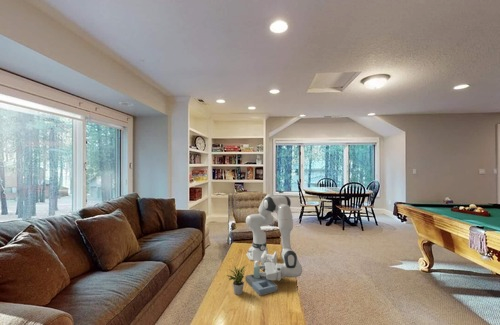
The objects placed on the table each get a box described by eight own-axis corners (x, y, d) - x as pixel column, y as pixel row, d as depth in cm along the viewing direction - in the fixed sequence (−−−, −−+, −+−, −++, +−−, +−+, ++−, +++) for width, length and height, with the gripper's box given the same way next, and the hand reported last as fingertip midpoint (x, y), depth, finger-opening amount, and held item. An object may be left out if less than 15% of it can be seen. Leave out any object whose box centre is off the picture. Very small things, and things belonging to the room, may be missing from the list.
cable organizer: (274, 272, 182) (274, 257, 182) (260, 271, 185) (260, 256, 185) (276, 264, 196) (277, 250, 196) (264, 263, 199) (264, 249, 199)
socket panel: (245, 280, 169) (245, 275, 169) (261, 277, 175) (261, 272, 175) (259, 295, 150) (259, 289, 150) (277, 291, 156) (277, 285, 156)
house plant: (235, 284, 164) (235, 260, 165) (253, 289, 158) (253, 264, 158) (223, 294, 152) (223, 268, 152) (242, 299, 145) (242, 272, 145)
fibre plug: (253, 280, 170) (253, 260, 170) (259, 280, 170) (259, 260, 170) (253, 283, 166) (253, 262, 166) (259, 283, 166) (259, 262, 166)
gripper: (276, 259, 179) (258, 259, 178) (280, 272, 158) (259, 272, 158) (276, 268, 178) (258, 268, 178) (280, 282, 158) (259, 281, 158)
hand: (258, 270), depth 168 cm, fingers open, 8 cm apart
